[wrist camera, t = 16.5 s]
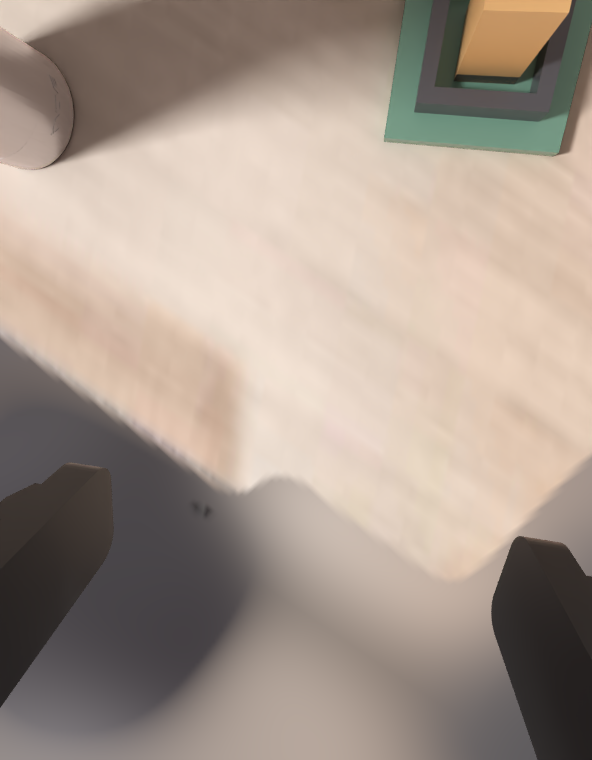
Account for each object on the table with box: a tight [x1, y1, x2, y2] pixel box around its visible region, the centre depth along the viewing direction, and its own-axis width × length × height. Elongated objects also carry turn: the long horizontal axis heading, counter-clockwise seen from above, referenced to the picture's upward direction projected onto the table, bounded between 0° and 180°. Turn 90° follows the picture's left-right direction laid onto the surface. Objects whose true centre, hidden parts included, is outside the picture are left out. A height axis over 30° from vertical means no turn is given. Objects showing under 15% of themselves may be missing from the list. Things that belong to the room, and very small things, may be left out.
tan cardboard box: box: [454, 0, 572, 84], centre depth 26 cm, size 4×4×9 cm
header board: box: [384, 0, 592, 156], centre depth 29 cm, size 12×12×3 cm
